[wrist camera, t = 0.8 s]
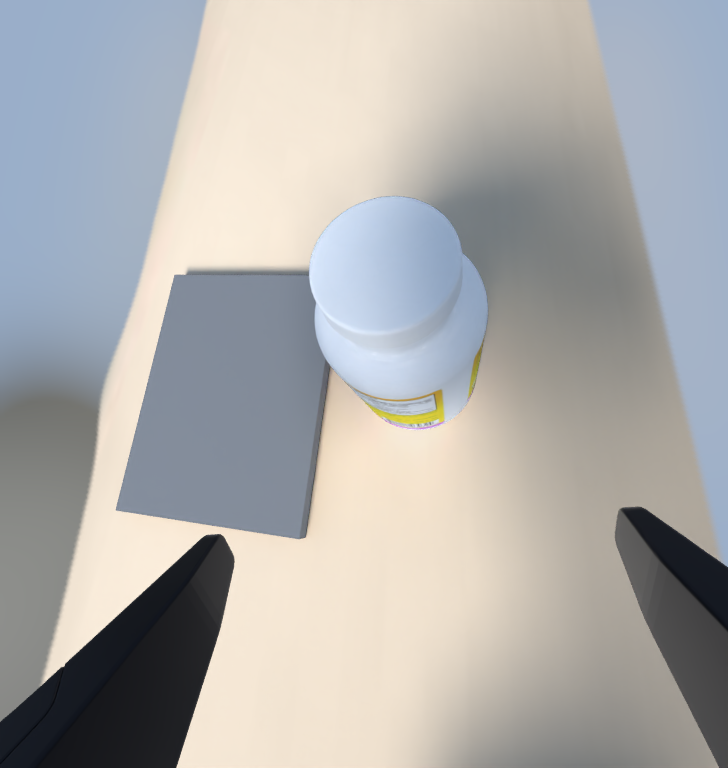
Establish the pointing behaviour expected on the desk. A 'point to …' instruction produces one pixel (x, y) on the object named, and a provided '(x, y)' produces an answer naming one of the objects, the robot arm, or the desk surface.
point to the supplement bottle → (399, 310)
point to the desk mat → (231, 407)
